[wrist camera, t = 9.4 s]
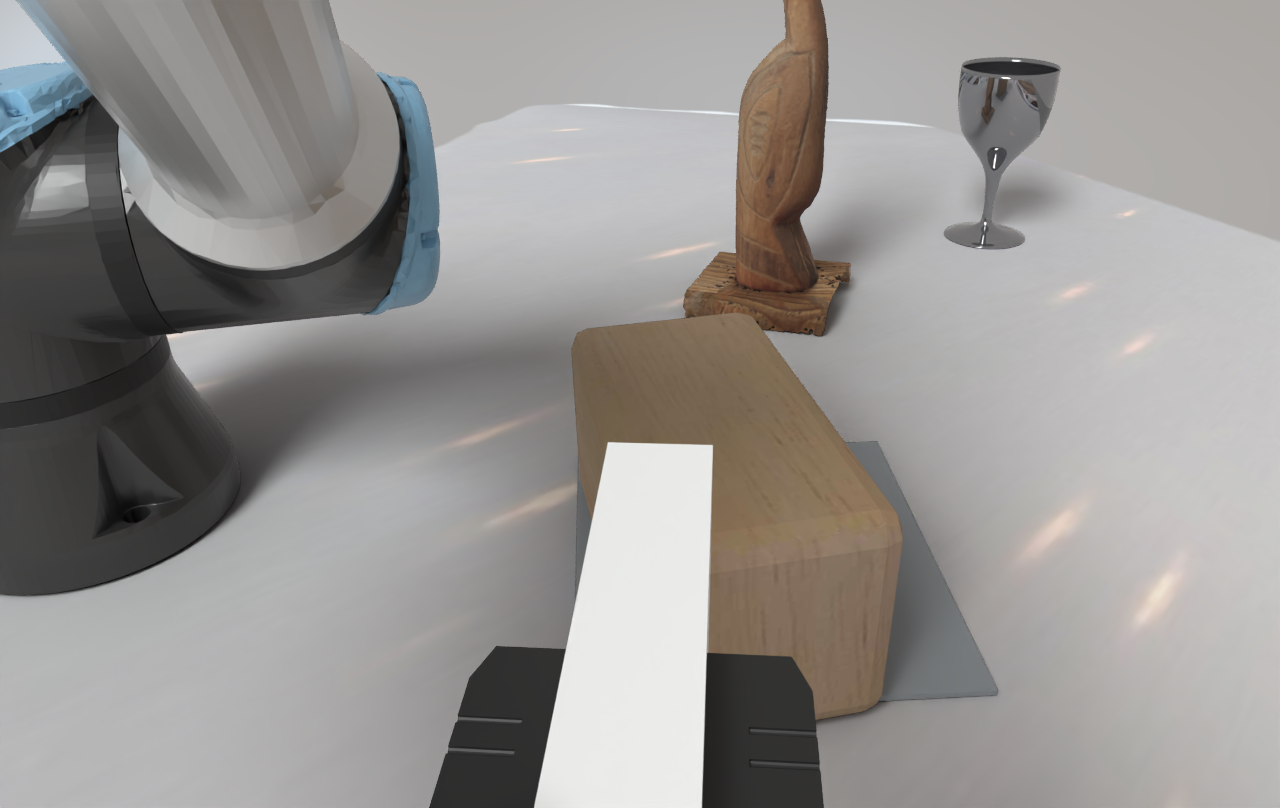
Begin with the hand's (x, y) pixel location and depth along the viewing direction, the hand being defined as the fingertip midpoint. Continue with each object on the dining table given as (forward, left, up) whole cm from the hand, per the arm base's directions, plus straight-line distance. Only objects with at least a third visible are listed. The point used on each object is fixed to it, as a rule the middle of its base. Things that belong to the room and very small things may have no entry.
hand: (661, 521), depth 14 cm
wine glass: (-72, +34, -23) cm, 83 cm away
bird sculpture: (-59, +12, -23) cm, 65 cm away
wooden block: (-15, +5, -18) cm, 24 cm away
